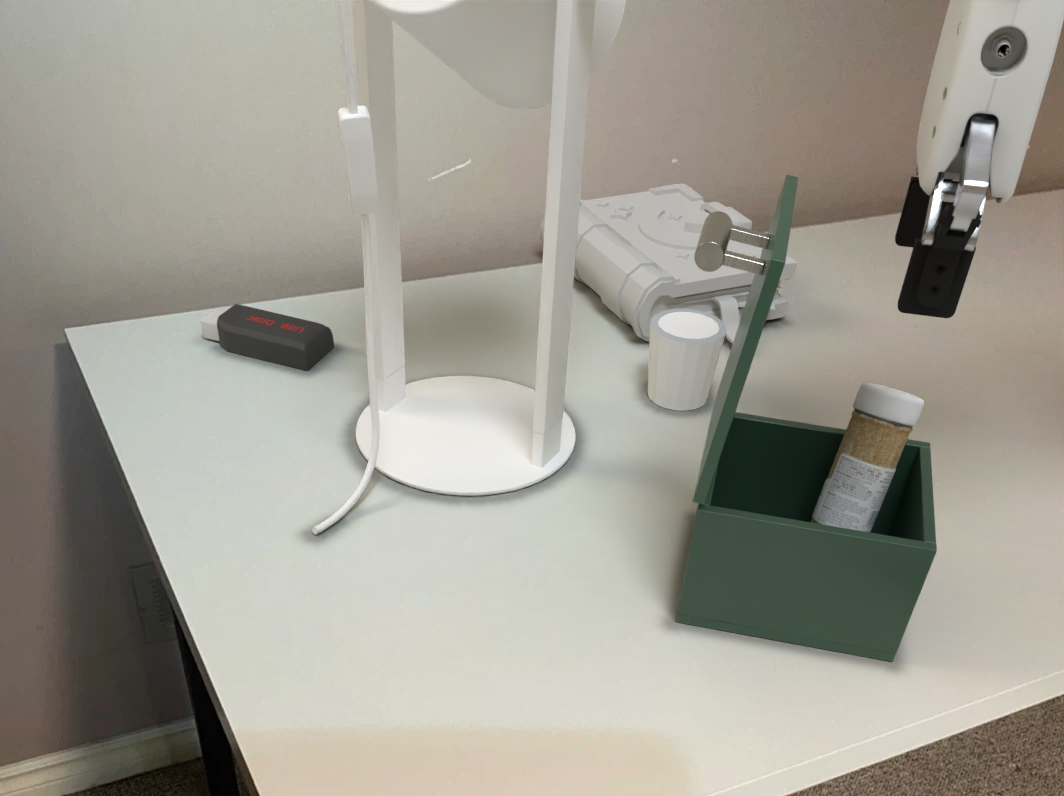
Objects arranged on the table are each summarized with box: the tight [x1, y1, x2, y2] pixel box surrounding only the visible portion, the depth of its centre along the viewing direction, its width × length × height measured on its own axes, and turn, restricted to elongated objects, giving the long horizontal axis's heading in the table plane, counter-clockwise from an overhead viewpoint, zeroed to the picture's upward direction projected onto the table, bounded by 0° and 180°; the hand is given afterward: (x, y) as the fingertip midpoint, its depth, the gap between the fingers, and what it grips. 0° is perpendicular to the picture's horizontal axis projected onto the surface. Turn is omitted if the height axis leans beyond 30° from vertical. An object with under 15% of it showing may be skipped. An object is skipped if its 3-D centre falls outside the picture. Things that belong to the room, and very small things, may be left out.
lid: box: [692, 174, 799, 505], centre depth 70 cm, size 16×14×5 cm
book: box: [539, 183, 798, 345], centre depth 113 cm, size 19×28×8 cm
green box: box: [675, 411, 938, 663], centre depth 78 cm, size 16×14×10 cm
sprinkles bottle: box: [811, 381, 925, 532], centre depth 78 cm, size 5×5×13 cm
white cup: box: [647, 309, 727, 412], centre depth 99 cm, size 7×7×7 cm
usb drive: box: [200, 303, 335, 371], centre depth 103 cm, size 5×12×3 cm, turn 69°
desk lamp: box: [311, 0, 627, 535], centre depth 77 cm, size 21×32×45 cm, turn 150°
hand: (921, 278), depth 65 cm, fingers open, 9 cm apart
